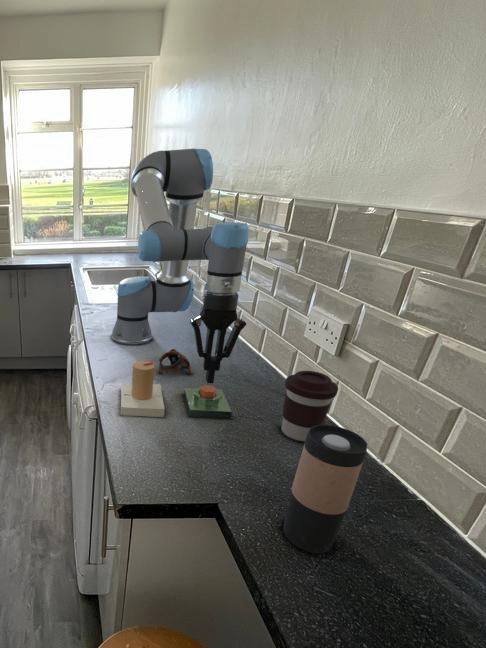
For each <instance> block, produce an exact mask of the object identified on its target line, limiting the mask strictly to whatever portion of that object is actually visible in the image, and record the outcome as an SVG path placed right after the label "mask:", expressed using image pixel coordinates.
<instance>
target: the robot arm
mask: <svg viewBox="0 0 486 648" xmlns="http://www.w3.org/2000/svg"><path fill="white" fill-rule="evenodd" d="M137 163H138V164H136V166H135V168H134V169H133V170H132V174H131V177H130V187H131V192H132V194H133V196H134V197H136V200H137V201H136V202H137V205H138V211H139V215H140V220H141V226H142V230H143V231H141V232H139V235H138V241H137V255H138V259H139V260H140V261H142V262H153V263H157V262H162V265H161V271H160V272H159V273H157V274H156V275H157V276H156V280H152V279H151V277H150V276H148V275H147V276H146V275H144V276H143V275H142V276H141V275H138V276H130V277H127V278H124V279H122V280H121V281H120V282H119V283H118V286H117V292H116V295H117V308H116V309H117V310H116V321H115V323H114V326H113V328H112V332H111V339H112V341H114V342H116V343H119V344H121V345H128V346H137V345H143V344H147V343H149V342H150V341H152V338H153V337H152V336H153V334H152V329H151V325H150V322H149V313H178V312H186V311H187V310H188V309H189V308H190V307H191V305H192V302H193V299H194V293H195V292H194V290H195V284H194V282H193V280H192V279H191V275H189V273H187V271H188V267H189V266H188V265H189V261H208V264H207V271H206V280H205V285H204V286H205V287H204V290H205V292H204V296H203V303H202V309H201V312H200V313H199V316H197V317H195V318H193V317H191V318H190V319H189V322H190V325H191V326H192V328H193V333H194V340H195V346H196V352H197V355H198V357H199V358H203V363H202V367H203V371H206V372H205V381H206V383H207V384H214V383H215V376H216V375H215V374H216V371H217V372H219V371H220V369H221V362H222V361H223V359H225V358H226V359H228V358H230V356H231V354H232V351H233V350H234V347H235V345H236V343H237V341H238V338H239V336H240V334H241V331H242V330H243V329H244V328H245V327H246V326H247V322H246V321H245V320H244V319H243V318H240V317H239V315H238V312H237V309H238V302H239V297H240V294H239V293H238V292H240V291H241V290H240V289H241V283H242V275H243V271H244V270H243V269H244V263H245V258H246V251H247V247H248V243H249V225H248V224H247V223H245V222H238V221H237V222H236V221H233V222H230V221H229V222H228V221H227V222H218V223H216V224H214V225H213V226H206V227H204V228H194V226H195V219H196V214H197V213H196V212H197V208H198V207H197V206H198V203H199V201H201V200H202V199H203V198H204V193H205V191H208V190H209V189H211V187H212V184H213V179H214V163H213V157H212V155H211V152H210V151H209V150H208V149H206V148H194V147H193V148H184V149H168V150H157V151H153V152H151V153H149V154H147V155H146V156H145V157H143V158H142V159H141V160H140V161H139V162H137ZM167 201H168V202H169V203H167ZM168 204H169V205H168ZM202 323H203V325H205V327H206V338H205V345H204V346H203V341H202V333H201V329H200V327H201V326H202ZM232 324H233V326H232ZM231 326H232V328H231V331H230V333H229V336H228V338H227V341H226V342H225V339H226V335H227V329H228V328H229V327H231ZM216 331H217V336H216V343H215V351H214V355H212V352H213V347H214V346H213V344H214V340H215V339H214V338H215V334H216Z"/></svg>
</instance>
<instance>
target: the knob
mask: <svg viewBox="0 0 486 648" xmlns="http://www.w3.org/2000/svg"><path fill="white" fill-rule="evenodd" d="M154 376H155V364H154V362H153V361H147V360H137V361H135V362H133V363H132V373H131V383H132V391H131V395H132V397H134V398H135V399H139V400H147V399H150V398H151V397H152V392H153V384H154V380H155V379H154Z"/></svg>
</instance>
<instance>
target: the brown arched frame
mask: <svg viewBox="0 0 486 648" xmlns="http://www.w3.org/2000/svg"><path fill="white" fill-rule="evenodd" d="M166 358H168V360H169V363H170V364H169V365H165V364H163V361H164V360H165V359H166ZM158 361H159V363H158V372H159V374H166V375H167V374H173V373H180V370H181V369H182V370H187V371H188V372H189V373H188V375H190V376H191V375H192V368H191V367H192V366H191V364H190V361H189V358H187V357H186V355H184V354H182V353H181V352H180V351H178V350H176V349H175V348H172V349H170V350H169V351H167V352H165V353H163V354H162V355H161V356H160V357H159V359H158Z"/></svg>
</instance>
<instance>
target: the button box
mask: <svg viewBox="0 0 486 648" xmlns="http://www.w3.org/2000/svg"><path fill="white" fill-rule="evenodd" d="M199 393H200V387H196V388H195V387H193V388H192V387H183V398H184V401H185V405H186V409H187V412H188V415H189V417H190V418H205V419H225V420H231V419H232V409H231V407H230V404H229V403H228V401H227V400H228V399H227V397H226V395H225V393H224V392H223V389H220V388H219V389H218V388H216V395H215V397H204V396H201V395H200V394H199Z"/></svg>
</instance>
